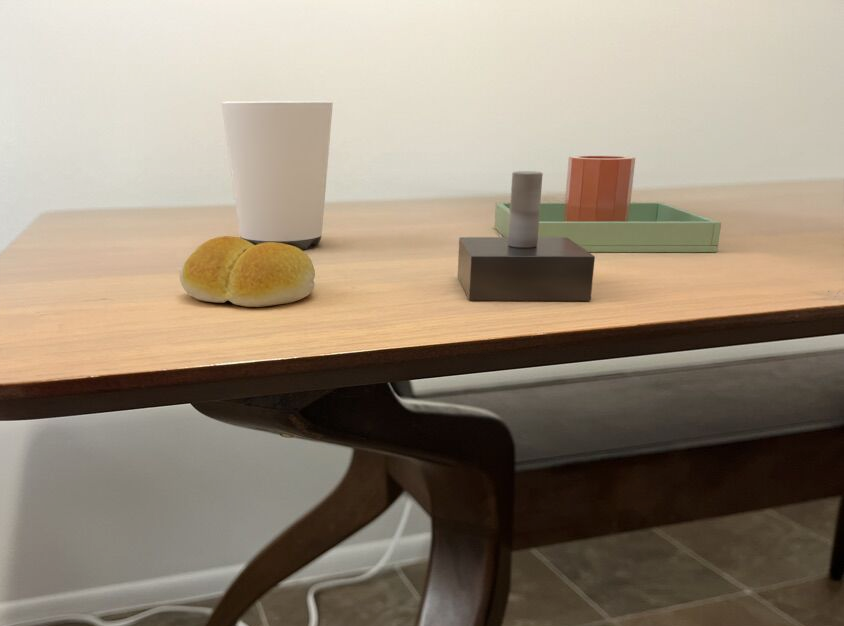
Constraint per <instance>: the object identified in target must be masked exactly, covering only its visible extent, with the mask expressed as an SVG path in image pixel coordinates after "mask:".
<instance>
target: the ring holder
mask: <svg viewBox="0 0 844 626" xmlns="http://www.w3.org/2000/svg"><path fill="white" fill-rule="evenodd" d="M543 175H544V174H543V172H542V171H537V170H536V171H532V170H520V171H519V170H518V171H513V172H512V174H511V189H510V190H511V191H510V193H511V194H510V202H509V203H510V219H509V235H508V237H504V236H501V237H500V236H497V237H496V236H493V237H492V236H490V237H489V236H461V237H460V236H459V238H458V259H457V278H458V280H459V282H460V284H461V286H462V288H463V291H464V293H465V295H466V296H467V298H468V301H470V302H471V301H472V302H473V301H476V302H477V301H479V302H481V301H482V302H485V301H489V302H491V301H492V302H493V301H494V302H497V301H499V302H501V301H504V302H590V301H591V299H592V291H593V281H594V280H593V279H594V270H595V261H596V256H595V255H593V254H592V253H591V252H587V251H586V250H585V249H583V248H582V247H580V246H579V245H577V244H576V243H574V242H573V241H572V240H570V239H569V238H567V237H538V228H539V215H540V203H542V202H541V201H542V188H543V187H542V186H543Z"/></svg>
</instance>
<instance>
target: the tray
mask: <svg viewBox="0 0 844 626" xmlns="http://www.w3.org/2000/svg"><path fill="white" fill-rule="evenodd" d="M510 203H511V202H495V209H494V228H495V230H496V231H497V232H498V233H499V234H500V235H502V237H508V235H509V219H510ZM564 208H565V201H564V202H558V201H557V202H555V201H553V202H540V215H539V228H538V237H567V238H569V239H570V240H572V241H573V242H574V243H576V244H577V245H579V246H580V247H582V248H583V249H585V250H586V251H587V252H589V253H718V248H719V241H720V234H721V230H722V229H721V228H722V222H721V221H718V220H715V219H713V218H710V217H706V216H704V215H701V214H698V213H695V212H692V211H690V210H686V209H683V208H681V207H677V206H675V205H671V204H668V203H665V202H662V201H658V202H657V201H656V202H653V201H652V202H650V201H649V202H648V201H645V202H641V201H640V202H639V201H637V202H636V201H635V202H634V201H633V202H632V201H631V203H630V212H629V221H628V222H563V220H564Z"/></svg>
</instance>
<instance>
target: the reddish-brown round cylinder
mask: <svg viewBox="0 0 844 626" xmlns="http://www.w3.org/2000/svg"><path fill="white" fill-rule="evenodd" d="M635 165H636V157H634V156H628V155H627V156H626V155H606V154H605V155H601V154H600V155H598V154H597V155H592V154H591V155H589V154H588V155H586V154H585V155H571V156H569V157H568V163H567V171H566V172H567V173H566V174H567V175H566V185H565V198H564V200H565V201H564V202H565V208H564V220H563V222H628V221H629V212H630V203H631V202H632V193H633V184H634V176H635V167H636V166H635Z"/></svg>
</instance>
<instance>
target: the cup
mask: <svg viewBox="0 0 844 626" xmlns="http://www.w3.org/2000/svg"><path fill="white" fill-rule="evenodd" d="M333 104H334V103H333V101H332V100H241V101H240V100H235V101H234V100H231V101H229V100H227V101H222V102H221V108H222V109H221V110H222V117H223V123H224V132H225V137H226V138H225V139H226V145H227V152H228V153H227V154H228V159H229V168H230V174H231V182H232V188H233V197H234V201H235V203H234V204H235V210H236V218H237V225H238V232H239V238H242V239H244V240H246V241H248V242H250V243H252V244H253V245H257V244H261V243H265V242H276V243H283V244H288V245H292V246H295V247H297V248H299V249H301V250H302V251H304V250H306V249H308V248H309V247H310V246H312V245H313V246H314V245H318V244H319V243H320V241H321V240H322V236H323V225H324V215H325V214H324V213H325V202H326V201H325V200H326V188H327V178H328V177H327V176H328V166H329V153H330V141H331V131H332V130H331V129H332V127H331V126H332V117H333V116H332V115H333Z"/></svg>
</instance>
